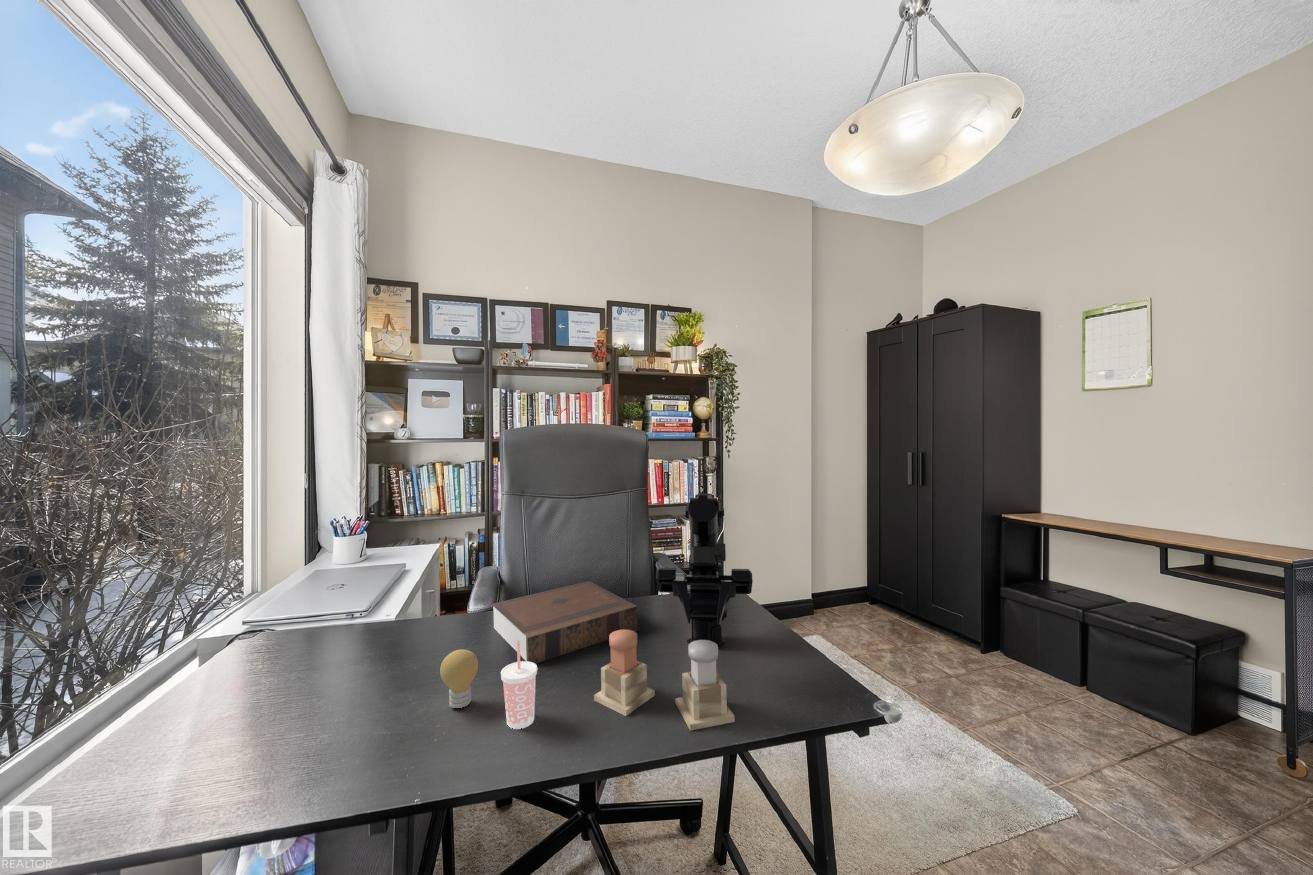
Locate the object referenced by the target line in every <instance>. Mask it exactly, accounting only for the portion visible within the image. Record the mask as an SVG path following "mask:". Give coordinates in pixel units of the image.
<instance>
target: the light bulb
mask: <svg viewBox="0 0 1313 875" xmlns="http://www.w3.org/2000/svg"><path fill="white" fill-rule="evenodd" d="M478 669H479V660H478V656H476V654H475V653H474V652H472V650H471V651H470V650H468V649H456V650H453V651H451V652H450V653H449V654H447V655H446V656H445V657H444V658H443V659H442V662H441V664H440V669H439V674H440V678H441V680H442V682H443V683H444V684H445V685H446V686H447V687H448V688H449V690H448V695H449V696H448V700H449V703H448V704H449V707H451V708H452V709H454V708H461V709H463V708H462V707H464V708H466V707H467V706H468V705H470V703H472V686H471V685H470V684H471V683H472V682H473V680H474V678H475V677H476V675H477V672H478ZM465 706H466V707H465Z"/></svg>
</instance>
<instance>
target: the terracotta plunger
mask: <svg viewBox="0 0 1313 875" xmlns="http://www.w3.org/2000/svg"><path fill="white" fill-rule="evenodd" d="M608 641H609V642H608V643H609V647H610V663H611V669H614V670H616V671H618V672H621V673H623V674H626V673H627V672H629V671H630V670H632V669H634V668H635V667H637V661H638V659H637V646H638V633H637V632H636V631H632V630H617V631H614V632H612V633H611V634H610V635H609V640H608Z"/></svg>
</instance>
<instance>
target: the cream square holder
mask: <svg viewBox="0 0 1313 875" xmlns="http://www.w3.org/2000/svg"><path fill="white" fill-rule="evenodd" d="M647 670H648V666H647V664H646V663H643V662H641V661H639V660H637V667H635V668H634V669H632V670H630V671H629V672H627V673H626V674H623V673H621V672H618V671H616V670H614V669H611V662H609V663H607V664H605V665H604V666H602V667H600V683H601V690H599V691H598V692H597V693H595V694H594V695H593V701H594V702H596V703H598V704H600V705H602V706H604V707H607V708H609V709H610V710H613V711H615V712H617V713H619V714H620V715H623V716H624V717H627V716H628V715H630V714H631V713H633V712H634V711H635V710H636V709H639V707H641V706H642V705H644V704H645V703H646V702H648V701H649V700H650V699H652V698H653V697H655V695H656V694H655V693H656V692H655V689H653V688H651V687H648V677H647V676H648V671H647Z"/></svg>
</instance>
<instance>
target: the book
mask: <svg viewBox="0 0 1313 875" xmlns="http://www.w3.org/2000/svg"><path fill="white" fill-rule="evenodd" d="M491 606H492V609H493V610H492V611H493V629H495V631H496V632H497V633H498V635H500V636H501V637H502V639H503V640H505V641H506V643H508V644H509V645H510V647H512V648H513V649H514V650H515V652H517V641H520V657H522V659H523V660H524V661H528V662H533V663H534V664H538V663H542V662H544V661H547V660H550V659H554V658H556V657H557V658H558V657H560V656H563V655H566V654H569V653H572V652H575V651H577V650H578V651H579V650H580V649H584V648H587V647H590V646H593V645H596V644H599V643H602V642H605V641H609V635H610V634H611V633H612V632H614V631H617V630H632V631H634V632H636V631H638V606H637V605H636V604H634V603H632V602H630V601H629V600H626V599H624V598H622V597H620V596H619V595H617V594H615V593H613V592H611V591H609V590H607V589H605V588H603V587H601V586H599V585H598V584H596V583H595V582H592V581H589V580H588V581H582V582H579V583H575V584H571V585H566V586H563V587H562V586H560V587H557V588H553V589H549V590H545V591H540V592H537V593H532V594H527V595H524V596H520V597H516V598H511V599H507V600H503V601H498V602H495V603H491Z"/></svg>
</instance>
